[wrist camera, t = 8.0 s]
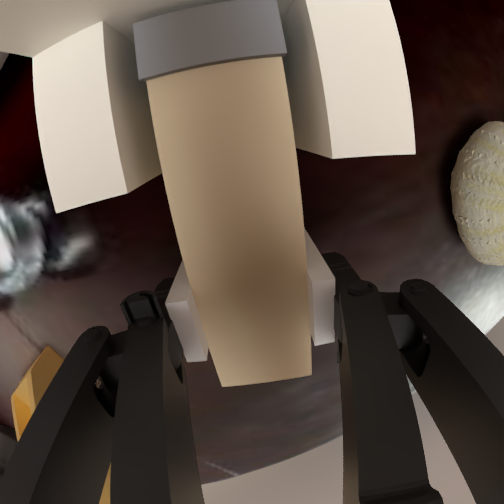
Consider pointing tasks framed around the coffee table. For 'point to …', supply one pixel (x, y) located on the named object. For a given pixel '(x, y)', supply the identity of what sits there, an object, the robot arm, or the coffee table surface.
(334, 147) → the white notched block
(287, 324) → the rail
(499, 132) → the sea urchin shell
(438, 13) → the coffee table surface
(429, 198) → the coffee table surface
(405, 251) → the coffee table surface
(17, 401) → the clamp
